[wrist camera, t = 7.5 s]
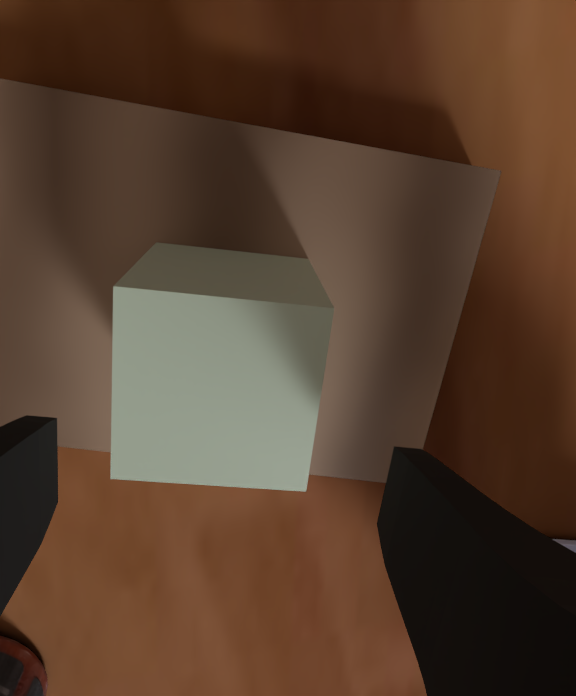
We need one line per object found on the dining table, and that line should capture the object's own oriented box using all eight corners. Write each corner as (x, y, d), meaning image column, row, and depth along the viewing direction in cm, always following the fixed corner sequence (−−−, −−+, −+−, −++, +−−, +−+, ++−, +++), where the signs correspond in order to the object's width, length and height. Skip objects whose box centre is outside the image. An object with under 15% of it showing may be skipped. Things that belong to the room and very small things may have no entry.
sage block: (308, 258, 18) (334, 308, 13) (290, 394, 20) (305, 491, 14) (156, 242, 18) (113, 286, 12) (150, 383, 19) (110, 479, 14)
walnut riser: (467, 167, 21) (501, 170, 18) (393, 447, 24) (412, 485, 22) (23, 86, 19) (-17, 75, 16) (20, 402, 23) (-13, 438, 20)
